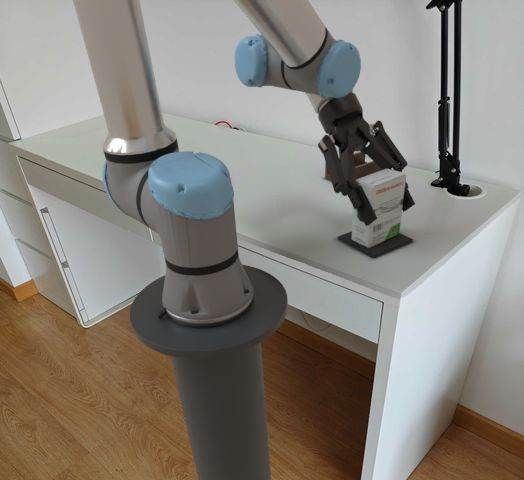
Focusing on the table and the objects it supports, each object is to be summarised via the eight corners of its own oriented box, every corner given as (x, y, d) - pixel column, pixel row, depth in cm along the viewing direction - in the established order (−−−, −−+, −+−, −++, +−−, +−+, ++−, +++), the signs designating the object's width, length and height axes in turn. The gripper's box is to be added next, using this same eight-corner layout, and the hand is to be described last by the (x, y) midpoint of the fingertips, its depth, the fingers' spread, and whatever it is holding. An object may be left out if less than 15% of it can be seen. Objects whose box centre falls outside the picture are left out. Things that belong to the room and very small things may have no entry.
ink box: (381, 226, 99) (388, 166, 91) (400, 234, 95) (408, 173, 88) (349, 239, 95) (353, 178, 87) (367, 249, 92) (373, 186, 84)
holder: (346, 187, 117) (347, 170, 115) (324, 178, 122) (325, 162, 120) (384, 174, 122) (386, 158, 120) (362, 166, 127) (363, 150, 125)
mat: (373, 258, 90) (373, 255, 90) (337, 239, 97) (337, 236, 96) (412, 241, 94) (413, 239, 94) (375, 224, 101) (375, 221, 100)
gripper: (368, 106, 98) (419, 208, 97) (279, 129, 89) (335, 241, 89) (390, 79, 91) (445, 189, 90) (296, 101, 82) (356, 222, 82)
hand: (390, 214), depth 89 cm, fingers closed on ink box, 9 cm apart
